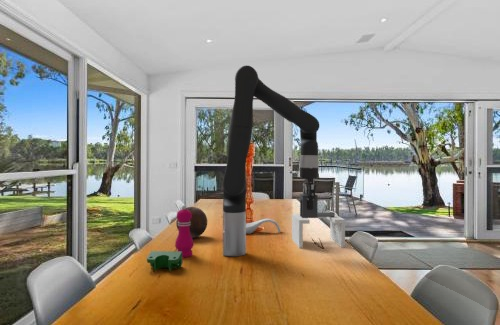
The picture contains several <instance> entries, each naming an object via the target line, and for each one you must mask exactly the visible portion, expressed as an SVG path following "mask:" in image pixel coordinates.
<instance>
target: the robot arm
mask: <svg viewBox="0 0 500 325" xmlns="http://www.w3.org/2000/svg"><path fill="white" fill-rule="evenodd" d="M254 97H255V98H256V99H258V100H259V101H261V102H262V103H264V104H265V105H267V106H268V107H269V108H270V109H272V110H273V111H274V112H275V113H277V114H279V116H281V117H282V118H283V119H284V120H286V121H288V122H290V123H293V124H294V125H295V126H297V127H298V128H299V134H300V135H299V137H300V158H299V178H300V179H304V181H303V182H302V194H306V195H307V209H308V210H313V200H314V199H315V195H316V188H317V185H316V183H314V180H315V179H319V170H320V169H319V167H320V165H319V163H320V162H319V143H318V141H317V140H318V139H317V136H318V135H317V134H318V131H319V129H320V122H319V120H318V119H317V118H316V117H315V116H314V115H312V114H311V113H310V112H307V111H306V110H303V109H302V108H301V107H300V106H298V105H297V104H295V103H294V102H293V101H292V100H291V99H289V98H287V97H286V96H284V95H282V94H280V93H279V92H277V91H275V90H274V89H272V88H270V87H269V86H267V85H266V84H265V83H264V82H263V81H262V80H260V78H259V76H258V72H257V71H256V69H255V68H254V67H252V66H250V65H242V66H241V67H239V68H238V69H237V71H236V72H235V75H234V102H233V106H232V110H231V114H230V115H231V116H230V120H229V127H228V134H227V136H228V137H227V161H226V166H225V171H224V175H223V179H222V188H223V190H222V191H223V192H222V195H223V198H222V201H223V202H222V256H226V257H241V256H245V255H246V254H247V236H246V235H247V234H246V223H247V220H246V218H247V217H246V216H247V214H246V210H247V202H246V201H247V200H246V199H247V195H246V194H247V187H246V184H247V182H246V165H247V164H246V163H247V158H248V154H249V150H250V146H251V140H252V136H253V134H252V133H253V127H254V126H253V124H254V123H253V122H254V113H253V111H254V109H253V108H254V104H253V103H254ZM310 195H312V196H310Z"/></svg>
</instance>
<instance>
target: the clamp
mask: <svg viewBox="0 0 500 325" xmlns="http://www.w3.org/2000/svg"><path fill="white" fill-rule="evenodd" d="M146 263H148V264H150V267H151V268H153V269H154V272H157V271H158V269H168V272H171V271H172V270H173V269H181V267H182V265H183V257H182V251H178V250H176V251H173V250H172V251H171V250H167V251H166V250H151V251H150V252H149V253H148V255H147V256H146Z"/></svg>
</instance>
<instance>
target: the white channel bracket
mask: <svg viewBox="0 0 500 325" xmlns="http://www.w3.org/2000/svg"><path fill="white" fill-rule="evenodd" d="M321 218H322V219H327V220H329V221H330V225H329V228H330V232H329V233H330V239H331V240H332V241H333V242H334V243H335V244H337V245H338V247H339V246H340V248H346V220H345V218H342V217H341V216H339V215H337V214H336V213H335V212H317V218H316V219H321ZM310 222H311V220H310V218H302V216H300V213H292V214H291V227H292V228H291V237H292V238H291V240H292V241H293V243H294V244H295V245H296V246H297V247H298V249H303V247H304V246H303V245H304V242H303V241H304V238H303V237H304V234H303V230H304V228H303V226H304V225H305V224H308V225H309V224H310Z"/></svg>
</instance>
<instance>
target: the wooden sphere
mask: <svg viewBox="0 0 500 325" xmlns="http://www.w3.org/2000/svg"><path fill="white" fill-rule="evenodd" d="M186 209H187V210H189V211H190V212H191V214H192V218H191V219H190V222H191V223H190V224H191V225H190V227H189V229H190V234H191V237H192V239H195V238H198V237H199V236H200V237H201V235H203V234H204V233H205V231H206V229H207V227H208V217H207V215H206V213H205V212H204V211H203V210H202V209H201V208H199V207H196V206H189V207H186ZM178 222H179V220H178V219H177V218H176V221H175V226H176V228H177V231H178V232H179V226H178Z"/></svg>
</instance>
